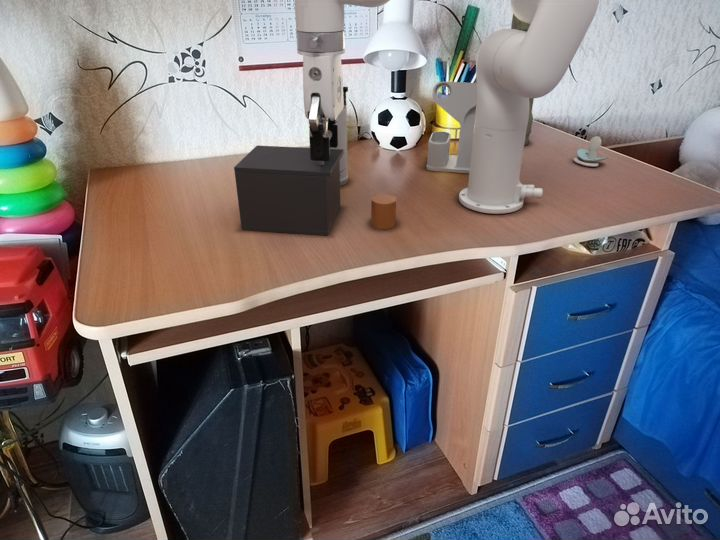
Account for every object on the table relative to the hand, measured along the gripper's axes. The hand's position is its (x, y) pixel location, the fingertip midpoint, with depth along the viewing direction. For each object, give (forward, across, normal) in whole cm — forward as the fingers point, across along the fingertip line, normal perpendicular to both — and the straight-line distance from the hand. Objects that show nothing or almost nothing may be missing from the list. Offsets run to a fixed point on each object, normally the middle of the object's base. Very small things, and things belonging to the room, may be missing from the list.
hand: (324, 152), depth 94 cm
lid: (+2, 0, +6) cm, 6 cm away
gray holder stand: (+13, +34, -26) cm, 45 cm away
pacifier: (+13, +40, -54) cm, 69 cm away
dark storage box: (+13, 0, +6) cm, 15 cm away
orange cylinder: (+13, 0, -10) cm, 17 cm away
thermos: (+13, +55, -38) cm, 68 cm away
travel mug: (+13, +20, +2) cm, 24 cm away
